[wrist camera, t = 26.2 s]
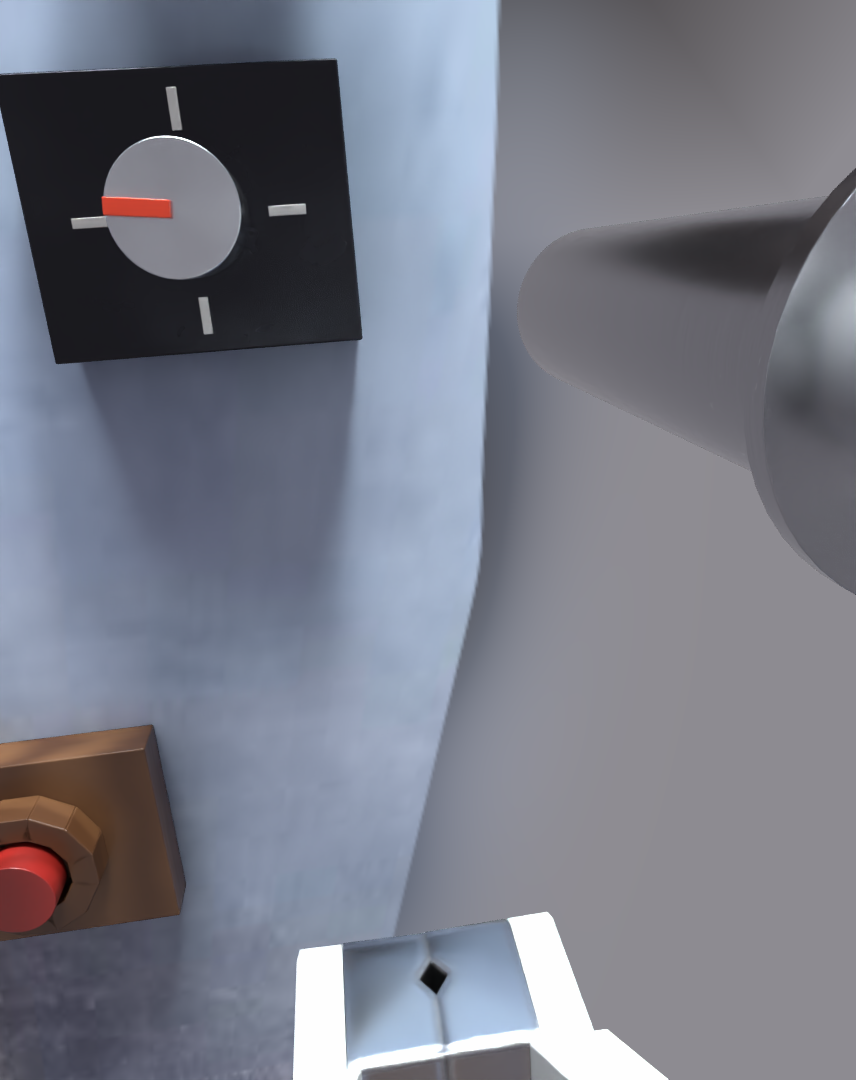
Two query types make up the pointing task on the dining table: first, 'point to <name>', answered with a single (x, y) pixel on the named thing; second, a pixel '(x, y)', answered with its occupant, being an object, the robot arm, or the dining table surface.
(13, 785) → the brown button base
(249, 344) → the black dial plate
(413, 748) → the dining table surface
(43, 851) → the button
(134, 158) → the silver dial knob
